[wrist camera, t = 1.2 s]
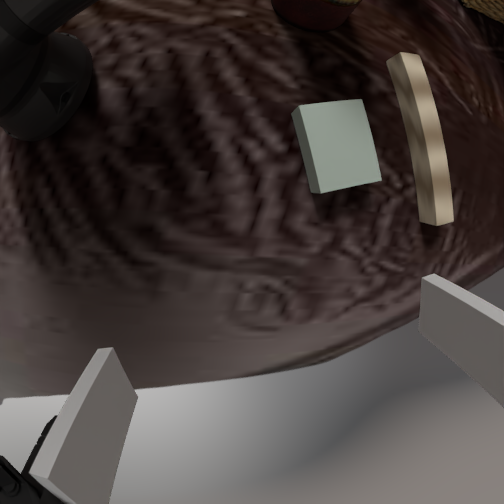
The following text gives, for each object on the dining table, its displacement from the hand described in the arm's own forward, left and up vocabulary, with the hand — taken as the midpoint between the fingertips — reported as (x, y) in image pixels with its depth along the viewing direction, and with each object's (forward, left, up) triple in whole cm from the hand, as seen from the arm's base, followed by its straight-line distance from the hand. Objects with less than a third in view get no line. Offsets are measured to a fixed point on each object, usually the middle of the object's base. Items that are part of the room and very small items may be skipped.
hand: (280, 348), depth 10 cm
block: (-9, +13, -25) cm, 29 cm away
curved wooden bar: (-9, +27, -24) cm, 37 cm away
